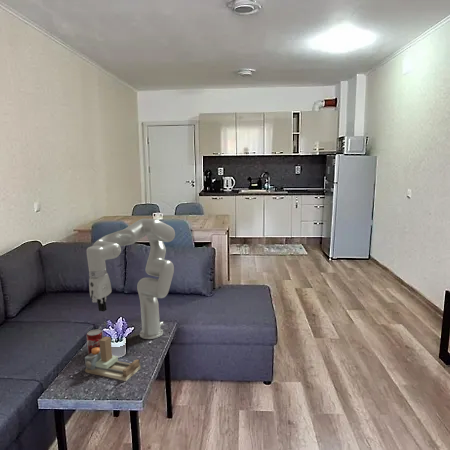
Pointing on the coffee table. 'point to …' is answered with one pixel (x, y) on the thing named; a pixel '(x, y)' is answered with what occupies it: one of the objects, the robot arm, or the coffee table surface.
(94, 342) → the soda can
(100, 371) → the rail bed
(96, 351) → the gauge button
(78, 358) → the coffee table surface
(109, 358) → the carriage
